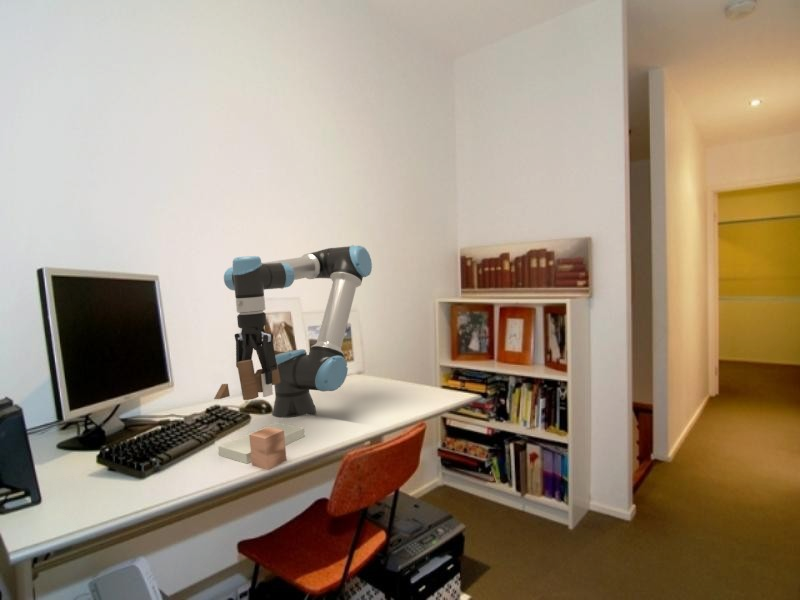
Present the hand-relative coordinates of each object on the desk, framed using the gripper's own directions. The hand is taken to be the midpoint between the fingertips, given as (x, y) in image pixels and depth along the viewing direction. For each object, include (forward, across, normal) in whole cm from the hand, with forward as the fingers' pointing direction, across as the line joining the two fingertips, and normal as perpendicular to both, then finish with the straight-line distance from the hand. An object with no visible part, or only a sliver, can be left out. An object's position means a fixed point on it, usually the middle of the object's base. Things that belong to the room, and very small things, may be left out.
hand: (258, 394), depth 123 cm
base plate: (+15, 0, 0) cm, 15 cm away
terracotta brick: (+15, +11, -7) cm, 20 cm away
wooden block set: (0, 0, -2) cm, 2 cm away
